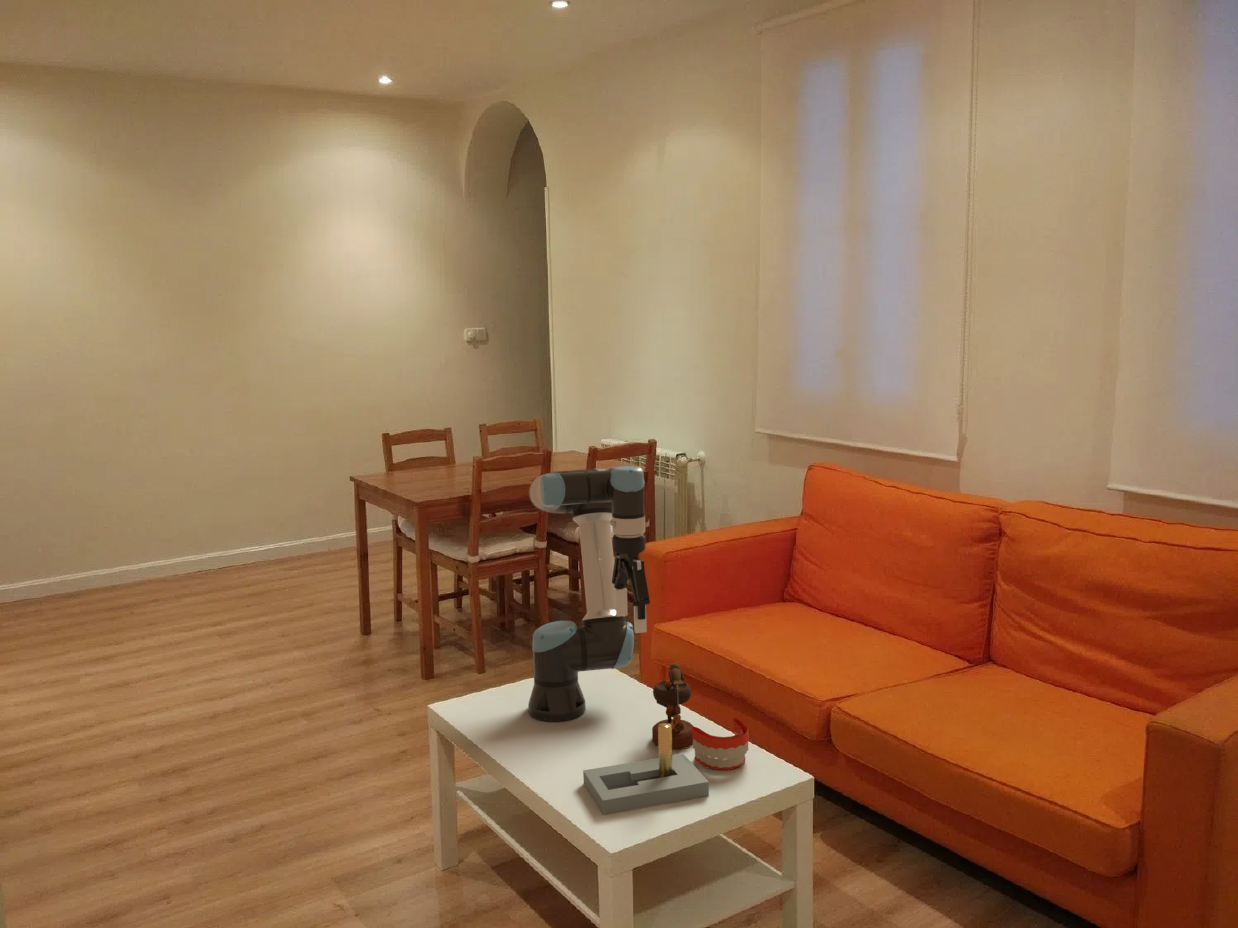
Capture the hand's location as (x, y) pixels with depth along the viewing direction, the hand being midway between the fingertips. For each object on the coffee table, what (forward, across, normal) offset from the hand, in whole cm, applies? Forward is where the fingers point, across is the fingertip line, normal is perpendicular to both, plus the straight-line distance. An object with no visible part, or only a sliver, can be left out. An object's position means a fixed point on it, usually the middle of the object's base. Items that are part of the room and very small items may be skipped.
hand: (630, 623), depth 235 cm
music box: (+33, -6, +12) cm, 36 cm away
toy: (+33, +10, +19) cm, 39 cm away
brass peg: (+33, +16, +2) cm, 37 cm away
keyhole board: (+33, +16, -3) cm, 37 cm away
